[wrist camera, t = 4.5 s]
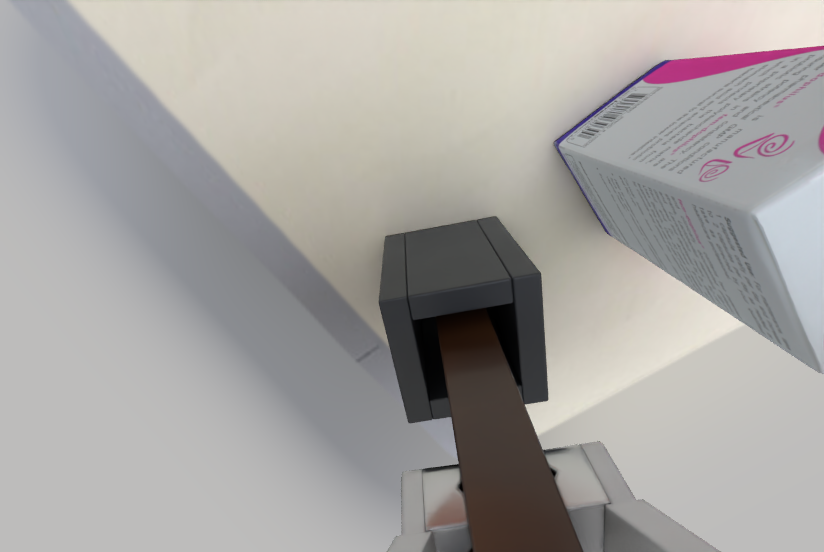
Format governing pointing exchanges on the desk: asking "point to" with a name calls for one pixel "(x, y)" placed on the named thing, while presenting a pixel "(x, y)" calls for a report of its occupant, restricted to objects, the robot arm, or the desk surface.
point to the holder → (460, 307)
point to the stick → (498, 446)
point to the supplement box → (720, 184)
